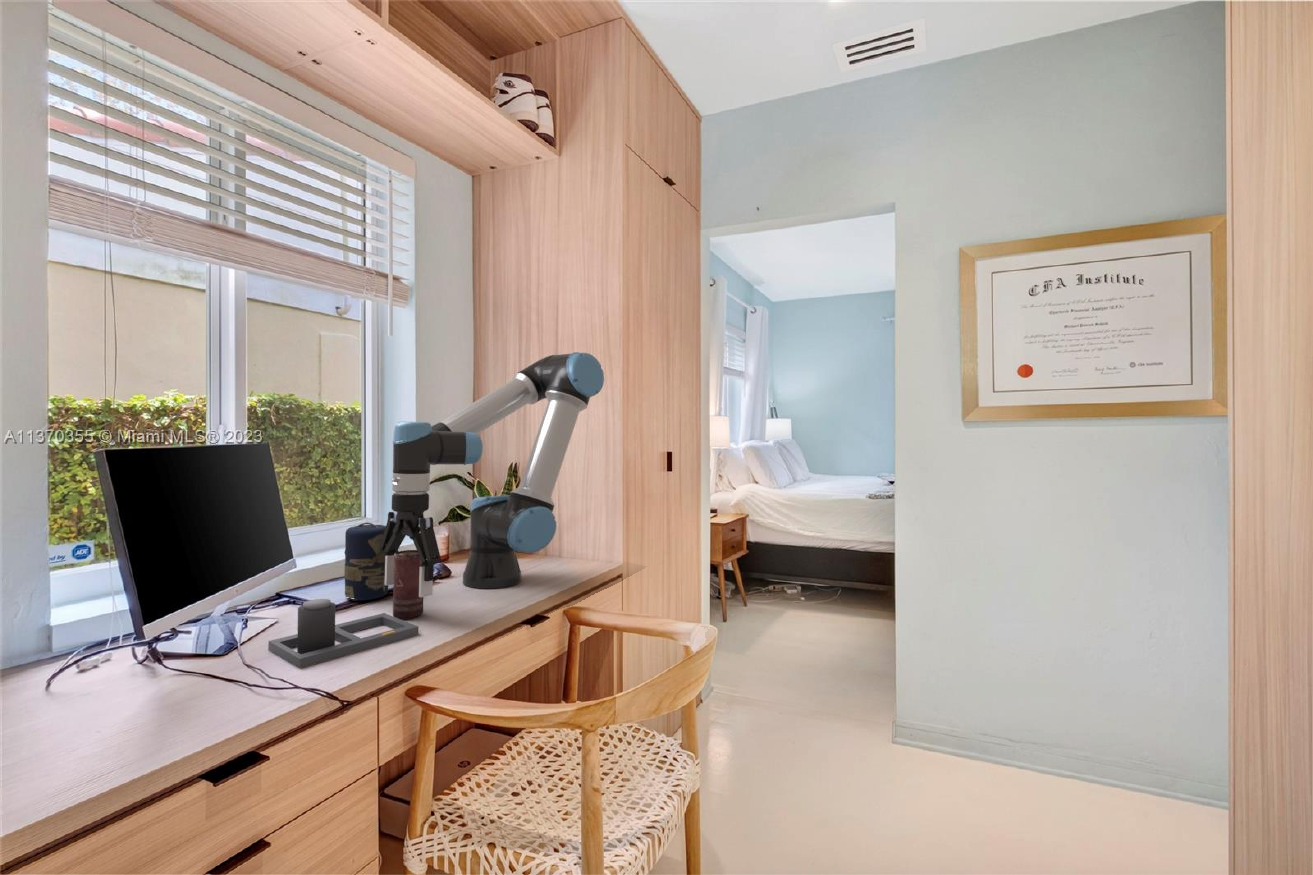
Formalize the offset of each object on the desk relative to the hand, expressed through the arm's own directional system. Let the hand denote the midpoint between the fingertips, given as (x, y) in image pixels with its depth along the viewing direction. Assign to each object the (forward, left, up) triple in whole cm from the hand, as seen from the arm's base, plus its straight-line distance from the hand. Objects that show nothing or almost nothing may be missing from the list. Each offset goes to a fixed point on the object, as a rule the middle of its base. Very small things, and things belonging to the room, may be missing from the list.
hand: (407, 590), depth 131 cm
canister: (-1, -20, -6) cm, 21 cm away
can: (0, 0, -6) cm, 6 cm away
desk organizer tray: (+16, +6, -6) cm, 18 cm away
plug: (+21, +6, -6) cm, 23 cm away
